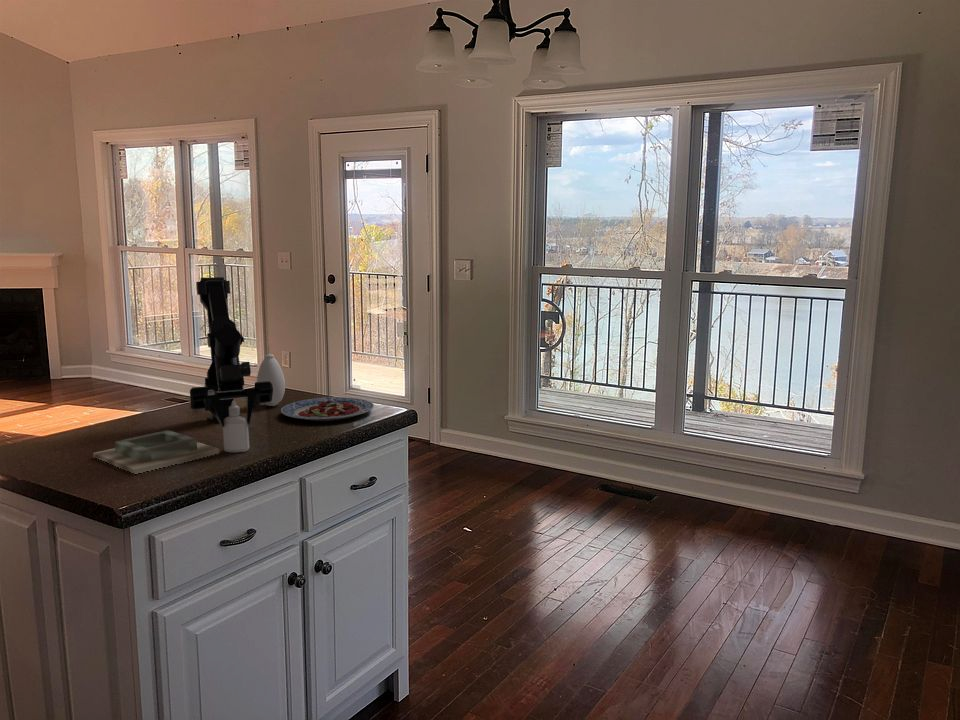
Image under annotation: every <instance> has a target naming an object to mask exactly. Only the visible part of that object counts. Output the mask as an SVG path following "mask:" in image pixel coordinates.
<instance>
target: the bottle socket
mask: <svg viewBox="0 0 960 720" xmlns="http://www.w3.org/2000/svg"><path fill="white" fill-rule="evenodd" d="M215 454H216V455H219V454H220V448H218V447H214V446H211V445H209V444H205V443H202V442H199V441H198V440H197V438H195V437H191V436H188V435H185V434H182V433H179V432H175V431H172V430H169V429H168V430H167V429H166V430H162V431H158V432H153V433H148V434H145V435H144V434H143V435H139V436H134V437H129V438H126V439H121V440H115V441H114V447H113V448H109V449H105V450H101V451H95V452H93V458H94V457H95V458H97V459H96V460H98V459H99V460H98V461H100V460H102V461H105V462H107V463H109V464H108V465H110V464H112V465H114V466H113V467H115V466H116V467H115V468H117V467H119V468H118V469H120V468H121V469H120V470H122V469H124V470H126V471H125V472H127V471H129V472H131V473H130V474H132V473H134V474H138V473H142V474H144V473H143V472H145V473H147V472H146V471H149V472H152V471H151V470H153V471H156V470H155V469H157V470H160V469H159V468H161V469H164V468H163V467H165V468H168V466H169V467H172V466H171V465H173V466H176V465H175V464H177V465H180V464H184V462H185V463H188V461H189V462H191V461H192V460H193V461H195V459H197V460H200V459H199V458H201V459H203V457H205V458H207V456H208V457H211V455H212V456H216V455H215ZM95 458H94V459H95ZM102 461H101V462H102ZM105 462H104V463H105ZM107 463H106V464H107ZM112 465H111V466H112ZM124 470H123V471H124ZM129 472H128V473H129ZM134 474H133V475H134ZM138 475H139V474H138Z"/></svg>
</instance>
